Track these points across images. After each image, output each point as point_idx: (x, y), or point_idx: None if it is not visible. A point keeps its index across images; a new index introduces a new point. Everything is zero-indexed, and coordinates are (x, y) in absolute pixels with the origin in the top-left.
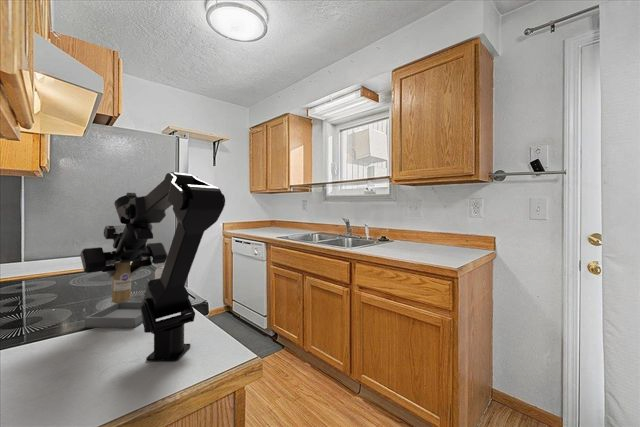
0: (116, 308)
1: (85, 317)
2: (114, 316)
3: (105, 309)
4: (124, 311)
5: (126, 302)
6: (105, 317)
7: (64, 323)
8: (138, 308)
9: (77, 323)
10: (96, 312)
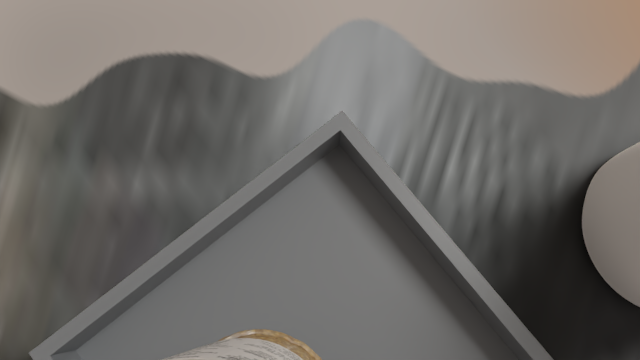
0: (308, 164)
1: (34, 350)
2: (249, 316)
3: (203, 237)
4: (337, 254)
5: (376, 175)
6: None
7: (14, 151)
8: (436, 261)
9: (63, 217)
10: (127, 281)
